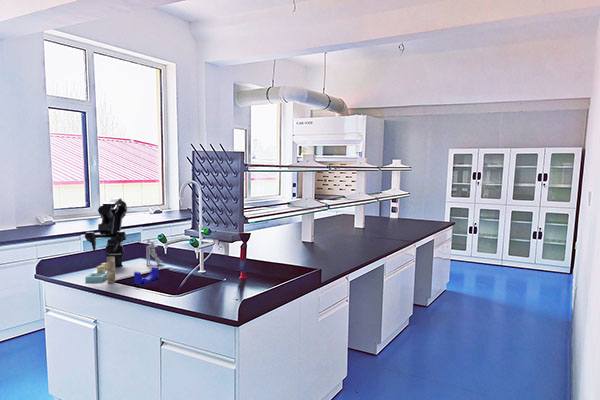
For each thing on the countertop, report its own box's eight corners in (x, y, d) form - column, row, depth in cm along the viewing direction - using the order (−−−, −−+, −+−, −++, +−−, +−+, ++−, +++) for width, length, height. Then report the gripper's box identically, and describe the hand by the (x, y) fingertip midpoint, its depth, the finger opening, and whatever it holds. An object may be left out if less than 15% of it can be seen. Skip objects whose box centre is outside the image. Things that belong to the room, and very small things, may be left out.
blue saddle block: (140, 285, 192) (140, 273, 191) (134, 284, 194) (134, 272, 194) (160, 279, 202) (160, 268, 202) (154, 278, 205) (154, 266, 204)
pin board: (99, 272, 212) (98, 262, 212) (114, 272, 213) (114, 262, 213) (85, 282, 195) (85, 271, 195) (102, 281, 196) (102, 271, 196)
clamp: (161, 266, 227) (161, 240, 226) (145, 265, 227) (144, 240, 226) (164, 264, 231) (164, 238, 230) (148, 263, 232) (147, 238, 230)
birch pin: (114, 280, 199) (113, 256, 198) (116, 282, 196) (115, 257, 195) (106, 281, 196) (105, 257, 195) (108, 283, 194) (107, 258, 192)
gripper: (84, 216, 199) (79, 245, 191) (124, 216, 203) (121, 243, 195) (89, 227, 208) (85, 254, 200) (127, 226, 212) (124, 253, 205)
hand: (104, 251), depth 200 cm, fingers open, 9 cm apart
